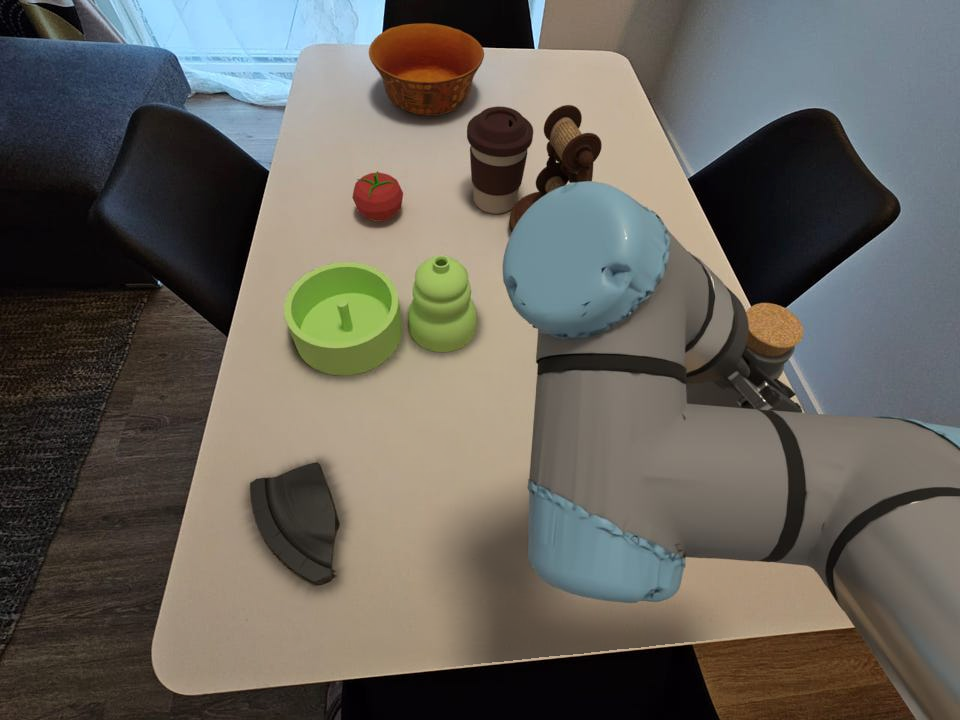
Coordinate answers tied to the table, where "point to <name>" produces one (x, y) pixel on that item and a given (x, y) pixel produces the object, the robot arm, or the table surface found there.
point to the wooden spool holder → (562, 157)
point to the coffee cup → (498, 157)
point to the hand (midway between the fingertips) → (757, 373)
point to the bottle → (757, 351)
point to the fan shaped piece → (298, 520)
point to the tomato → (377, 196)
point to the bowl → (426, 66)
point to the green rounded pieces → (377, 314)
